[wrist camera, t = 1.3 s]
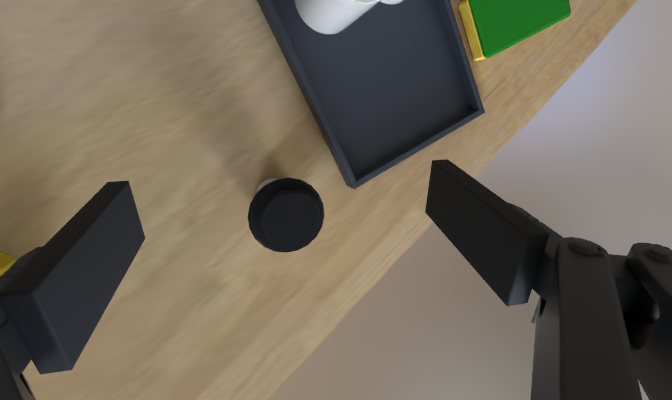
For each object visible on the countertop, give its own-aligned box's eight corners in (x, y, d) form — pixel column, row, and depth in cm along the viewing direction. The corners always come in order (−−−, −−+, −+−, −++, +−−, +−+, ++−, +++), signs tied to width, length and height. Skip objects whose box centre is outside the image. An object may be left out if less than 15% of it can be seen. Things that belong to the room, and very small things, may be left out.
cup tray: (243, -28, 34) (244, -37, 32) (404, -97, 37) (415, -110, 35) (347, 186, 42) (354, 189, 40) (473, 113, 45) (485, 112, 43)
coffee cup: (266, 239, 40) (279, 273, 31) (229, 190, 38) (231, 212, 28) (315, 204, 41) (343, 227, 32) (282, 155, 39) (301, 164, 29)
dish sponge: (555, 20, 46) (572, 14, 44) (473, 62, 44) (487, 58, 41) (543, -37, 44) (560, -46, 42) (456, 3, 41) (470, -4, 39)
